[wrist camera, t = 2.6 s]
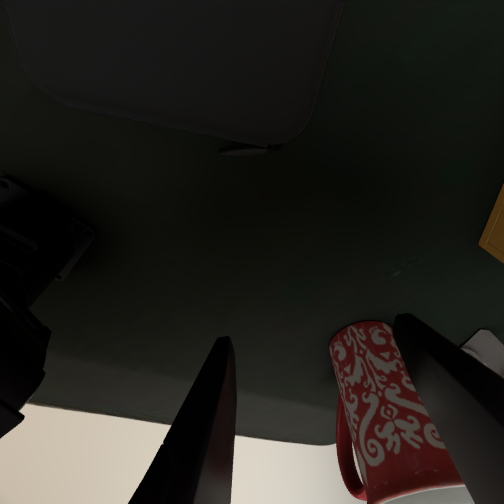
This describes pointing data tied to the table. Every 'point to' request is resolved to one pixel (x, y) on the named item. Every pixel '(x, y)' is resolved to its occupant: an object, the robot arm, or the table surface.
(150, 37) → the carrying case
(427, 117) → the table surface
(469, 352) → the garden wall model
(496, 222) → the tote
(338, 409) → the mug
